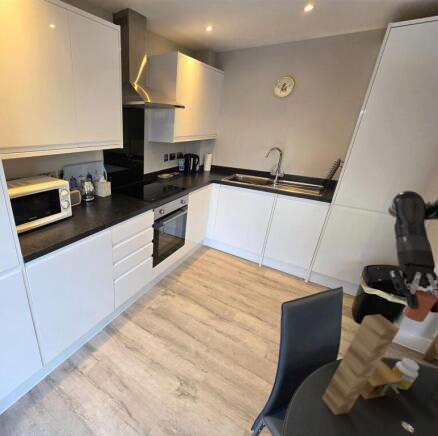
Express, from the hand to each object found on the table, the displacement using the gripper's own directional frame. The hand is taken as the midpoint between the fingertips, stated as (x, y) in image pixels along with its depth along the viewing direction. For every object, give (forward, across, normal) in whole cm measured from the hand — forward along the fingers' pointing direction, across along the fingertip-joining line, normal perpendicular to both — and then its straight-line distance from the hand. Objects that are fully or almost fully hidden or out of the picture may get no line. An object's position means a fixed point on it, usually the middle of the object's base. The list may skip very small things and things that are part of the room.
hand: (424, 310), depth 69 cm
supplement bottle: (+21, -11, -30) cm, 38 cm away
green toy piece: (+25, -4, -23) cm, 35 cm away
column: (+31, +15, -19) cm, 39 cm away
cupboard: (+24, 0, -26) cm, 35 cm away
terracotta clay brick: (+2, 0, -4) cm, 4 cm away
